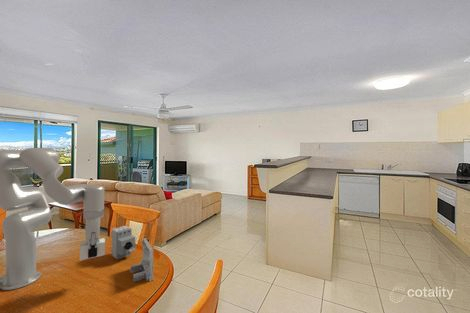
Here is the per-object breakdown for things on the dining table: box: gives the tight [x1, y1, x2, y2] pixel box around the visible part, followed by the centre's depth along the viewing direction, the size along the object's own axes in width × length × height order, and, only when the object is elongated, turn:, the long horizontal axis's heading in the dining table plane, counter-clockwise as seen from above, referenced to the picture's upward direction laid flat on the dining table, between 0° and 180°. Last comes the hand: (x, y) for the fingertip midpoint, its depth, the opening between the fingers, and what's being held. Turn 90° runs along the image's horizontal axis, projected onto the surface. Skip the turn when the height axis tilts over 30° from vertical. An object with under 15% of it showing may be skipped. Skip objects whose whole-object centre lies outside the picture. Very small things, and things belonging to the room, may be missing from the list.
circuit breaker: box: [110, 225, 136, 260], centre depth 116 cm, size 8×14×15 cm, turn 53°
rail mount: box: [129, 237, 154, 283], centre depth 99 cm, size 8×16×14 cm, turn 35°
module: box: [79, 237, 106, 261], centre depth 91 cm, size 9×5×6 cm, turn 125°
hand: (92, 253), depth 91 cm, fingers closed on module, 5 cm apart
